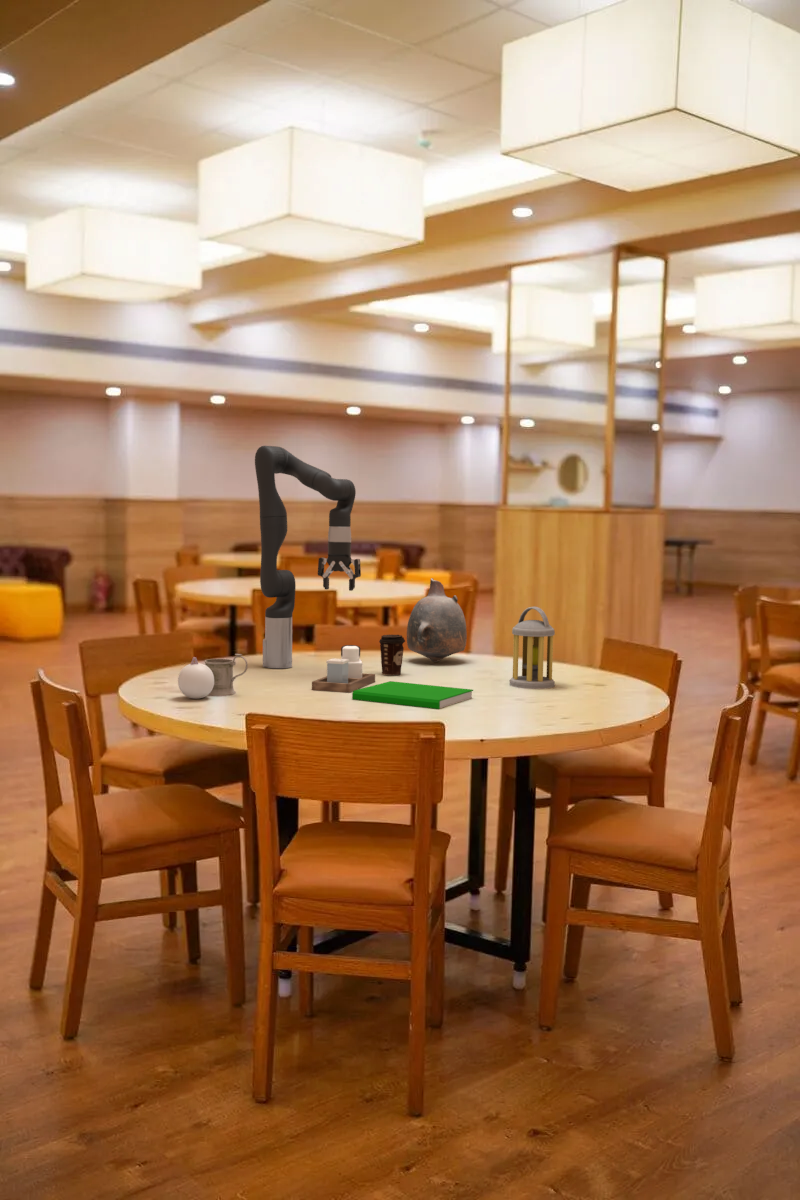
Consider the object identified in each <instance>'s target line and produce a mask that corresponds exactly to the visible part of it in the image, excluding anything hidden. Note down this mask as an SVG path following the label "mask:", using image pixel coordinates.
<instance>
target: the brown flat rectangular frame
mask: <svg viewBox="0 0 800 1200" xmlns="http://www.w3.org/2000/svg"><path fill="white" fill-rule="evenodd" d="M373 683H376V673H368V672H367V673H365V672H364V673H363V672H362V678H360V679H359V678H348V684H347V683H333V682H327V675H325V676H324V677H321V678H319V679H316V680H313V681H311V691H324V692H334V693H335V692H337V693H348V694H349V693H353V691H354V690H358V689H362V688H365V687H368V686H369V685H371V684H373Z"/></svg>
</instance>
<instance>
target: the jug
mask: <svg viewBox="0 0 800 1200" xmlns="http://www.w3.org/2000/svg"><path fill="white" fill-rule="evenodd" d="M429 583H430V584H429V590H428V594H427V596H425V597H423V598H421V599H420V600H418V601H417V602H416V604H415V605H414V606H413V609H412V611H411V612H410V616H409V618H408V621H407V627H406V645H407V649H409V650H410V651H412V652H414V653H416V654H419V655H421V656H423V657H425V658H427V659H429V660H431V661H432V662H434V663H435V662H436V663H437V662H439V661H442V660H444V659H446V658H447V657H449V656H451V655H455V654H458V653H460V652H464V650H466V646H467V641H468V640H467V639H468V638H467V637H468V635H467V634H468V633H467V631H468V630H467V623H466V618H465V615H464V611H463V609H462V607H461V606H460V604H459V603H458V600H459V599H458V597H457V595H453V596H452V597H448V596H447V595H446V593H445V588H444V585H443V583H442V582H441V581H439V580H435V579H434V578H432V577H431V578H430V582H429Z"/></svg>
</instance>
